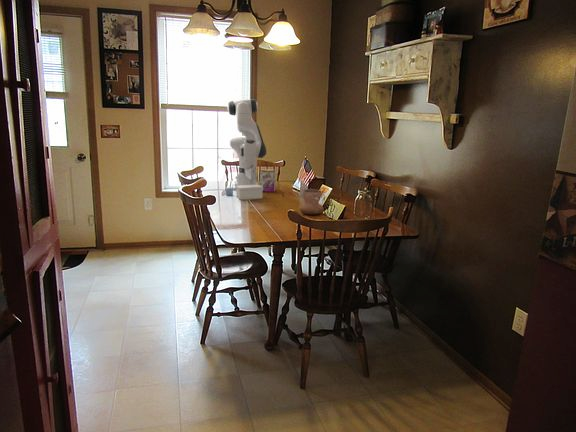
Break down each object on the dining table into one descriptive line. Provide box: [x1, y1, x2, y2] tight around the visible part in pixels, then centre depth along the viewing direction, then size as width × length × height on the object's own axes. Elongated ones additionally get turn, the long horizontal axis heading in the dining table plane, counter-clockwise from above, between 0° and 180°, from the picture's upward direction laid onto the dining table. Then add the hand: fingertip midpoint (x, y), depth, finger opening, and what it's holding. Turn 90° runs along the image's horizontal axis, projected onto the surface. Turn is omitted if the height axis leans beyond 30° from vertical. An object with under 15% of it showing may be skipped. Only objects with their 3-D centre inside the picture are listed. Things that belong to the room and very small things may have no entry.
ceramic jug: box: [299, 188, 325, 216], centre depth 266 cm, size 18×14×14 cm
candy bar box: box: [259, 168, 276, 193], centre depth 330 cm, size 11×5×16 cm, turn 84°
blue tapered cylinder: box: [225, 186, 234, 197], centre depth 317 cm, size 5×5×5 cm
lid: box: [235, 184, 263, 191], centre depth 307 cm, size 13×17×2 cm
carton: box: [235, 186, 263, 201], centre depth 308 cm, size 12×16×7 cm
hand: (250, 184), depth 304 cm, fingers closed
